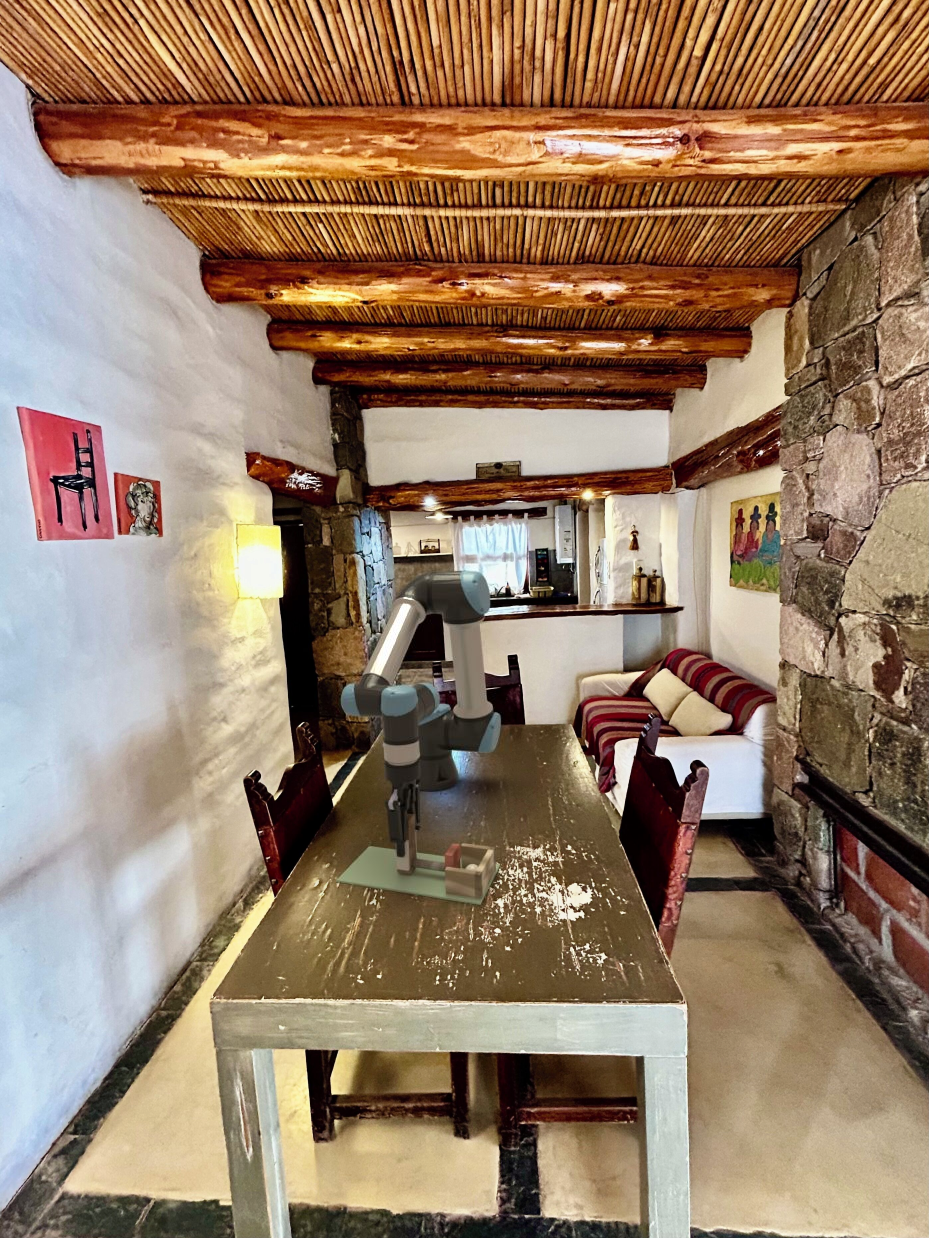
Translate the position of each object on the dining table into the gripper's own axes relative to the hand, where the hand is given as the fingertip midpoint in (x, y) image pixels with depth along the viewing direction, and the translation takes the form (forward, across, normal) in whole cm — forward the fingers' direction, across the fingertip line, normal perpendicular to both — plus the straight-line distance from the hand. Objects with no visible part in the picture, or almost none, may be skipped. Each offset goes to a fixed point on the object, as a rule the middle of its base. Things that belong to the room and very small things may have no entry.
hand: (407, 864), depth 126 cm
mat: (+2, 0, +3) cm, 3 cm away
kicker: (+1, 0, +5) cm, 5 cm away
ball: (0, 0, +15) cm, 15 cm away
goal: (+2, 0, +15) cm, 15 cm away
